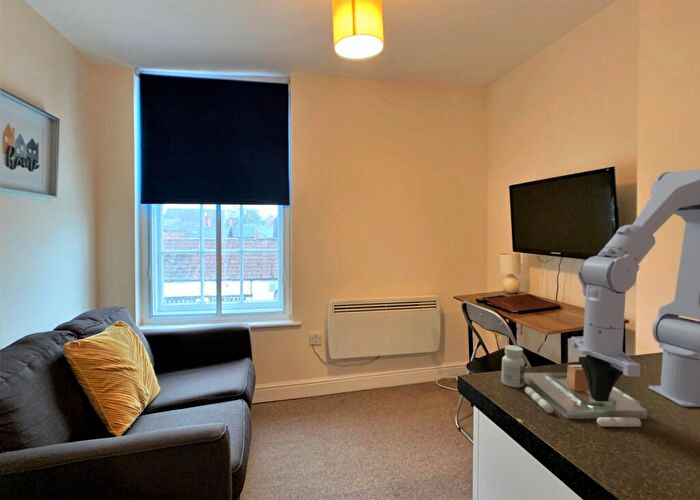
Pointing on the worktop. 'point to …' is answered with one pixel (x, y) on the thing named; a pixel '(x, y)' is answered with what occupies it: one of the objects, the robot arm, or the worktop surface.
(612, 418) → the rod
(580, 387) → the lever
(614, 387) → the cable near base
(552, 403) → the breaker panel
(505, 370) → the pill bottle
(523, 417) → the worktop surface
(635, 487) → the worktop surface
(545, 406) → the rod
